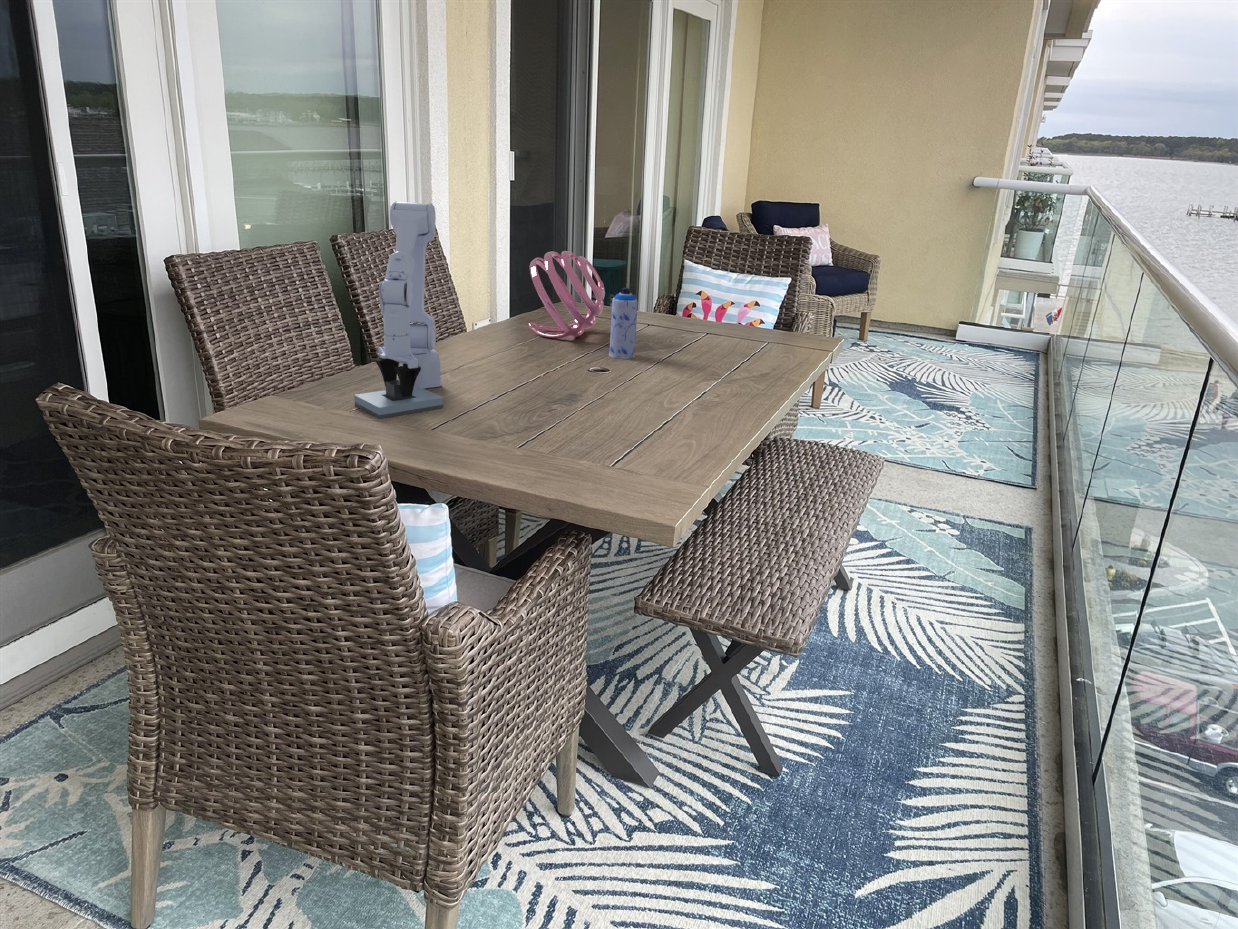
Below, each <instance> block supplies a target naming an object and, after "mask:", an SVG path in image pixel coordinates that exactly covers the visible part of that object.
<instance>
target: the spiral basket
mask: <svg viewBox="0 0 1238 929" xmlns="http://www.w3.org/2000/svg"><path fill="white" fill-rule="evenodd" d="M560 253H561V254H560ZM560 253H558V252H557V251H553V250H552V251H548V252H546V253H545V254H544V256H543V258H542V257H535V258H534V259H533V260H531V262H530V263H529V274H530V277H531V278H530V279H531V281H532V283H533V286H534V288H535V291H536V292H537V295H538V296H539V298H540V300H541V301H542V304H543V306H544V307H545V309H546V311H547V312H548V314H549V315H550V317H551V318H552V319H553V320H554V322H555V324H556V325H557V326H548V325H547V326H546V325H542V324H539V323H537V322H535V321H530V323H528V327H529V328H530V329H531V330H532V331H534V332H535V334H537V335H539V336H542V337H544V338H547V339H554V340H555V339H556V340H557V339H564V338H579V337H581V336H582V335H583V334H584V332H585V331H584V330H585V329H586V330H590V329H592V328H593V327H594V326H595V325H596V321H597V316H600V315H601V314H602V313H603V310H604V299H605V295H606V291H605V286H604V282H603V280H601V277H600V276H599V274H598V272H597V270H596V268H595V267H594V266H593V265H592V263H591V262H590V261H589V260H588V259H587V258H586V257H584V256H582V255H579V256H578V255H576V254H575V253H573V251H568V250H563V251H562V252H560ZM553 259H554V260H556V261H557V263H559V265H560V266H561V267H562V268H563V270H564V271H565V274H566V275H567V277H568V280H569V282H570V283H571V285H572V287H573V289H574V290H575V292H576V293H577V295H578V297H579V298H580V300H581V301H582V303H583V304H584V306H585V308H586V311H587V315H586V316H583V314H582V313H581V311H580V309H579V308H578V305H577V303H576V301H575V299H574V298H573V295H572V294H571V292H570V290H569V288H568V287H567V285H566V284H565V281H563V279H562V278H561V276H560V275H559V274H558V272H557V270H556V268H555V264H554V261H553ZM571 259H572V261H574V263H575V264H576V266H577V267H578V268H579V270H580V271H581V273H582V275H583V277H584V279H585V281H586V282H587V284H588V286H589V287H590V289H591V290H592V292H593V295H594V297H595V299H596V300H595V302H593V300H592V299H591V297H590V296H589V295H588V294H589V293H587V291H586V288H585V287H584V285H583V283H582V281H581V279H580V278H579V276H578V275H577V274H576V272H575V271H574V268H573V266H572V262H571ZM537 266H539V267H540V268H542V269H543V271H545V272H546V274H547V275H548V276H547V277H548V278H549V280H550V282H551V284H552V286H553V288H554V290H555V293H556V294H557V296H558V298H559V299H560V301H561V302H562V305H564V307H565V308H566V309H567V311H568V313H569V314H570V315H571V317H572V318H573V323H571V324H568V323H567V321H565V320H564V318H563V317H562V316H561V315H560V312H559V311H558V309H556V307H555V305H554V304H553V302H552V300H551V298H550V297H549V295H548V293H547V291H546V289H545V287H544V285H543V283H542V280H541V277H540V274H539V271H538V268H537ZM587 266H588V267H587ZM588 268H589V269H590V271H591V272H592V274H593V276H594V278H595V280H596V281H597V284H596V282H595V280H594V279H593V277H592V275H591V273H590V272H589V270H588ZM535 327H537V328H539V329H541V330H545V331H549V332H558V333H559V332H560V333H561V332H563V333H561V334H547V333H543V332H542V331H539V330H538V329H536V328H535Z"/></svg>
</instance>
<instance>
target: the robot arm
mask: <svg viewBox="0 0 1238 929" xmlns="http://www.w3.org/2000/svg"><path fill="white" fill-rule="evenodd" d="M436 219H437V218H436V208H435V206H434V204H433V202H429V203H426V202H425V203H424V202H406V201H405V202H404V201H403V202H402V201H396V200H394V201H393V202H392V203H391V204H390V207H389V221H390V222H389V223H390V225H391V226H392V231H394V234H395V235H396V240H395V251H394V252H393V253H391V254H390V255H389V257H388V260H387V261H388V262H387V267H386V271H385V275H384V276H385V277H384V280H383V281H381V282H380V283H379V286H378V287H379V288H378V297H379V303H380V311H381V314H382V315H383V316H382V317H383V320H382V322H383V341H384V343H383V346H378V347H377V348H378V356H379V358H378V357H377V358H375V359H374V360H375V361H374V362H375V363H376V365H377V366H378V369H379V370H380V372H381V375H382V378H383V383H384V386H385V388H386V381H392V380H399V381H400V388H401V394H402V397H409V396H412V392H413V388H414V386H419V387H421V388H423V389H425V390H426V389H430V388H437V387H442V386H443V384H442V383H441V358H440V354H439V352H438V351H437V350H436V349H435V347H436V340H437V335H436V334H437V331H436V321H435V319H434V318H433V317H432V316H431V315H430V314H428V312H426V311H425V287H426V284H425V283H426V280H425V279H426V258H427V257H426V253H427V246H428V243H430V242H432V241H433V240H434V239H435V235H436V222H437V220H436ZM416 323H417V324H416ZM397 377H398V378H397Z"/></svg>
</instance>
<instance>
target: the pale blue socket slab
mask: <svg viewBox="0 0 1238 929" xmlns="http://www.w3.org/2000/svg"><path fill="white" fill-rule="evenodd" d="M354 406H356V407H358V408H359V409H361V410H363V411H365V412H367V413H368V414H371V415H372V416H374V417H375V418H377V419H385V418H391V417H392V418H393V417H398V416H404V415H409V414H416V413H423V412H428V411H432V410H433V411H435V410H439V409H443V408H444V397H443V396H441V395H438V394H436V393H434V392H431V391H429V390H427V389H426V388H425V389H423V388H421V387H419V386H414V388H413V392H412V396H410V399H404V400H398V401H392V400H390V399H388V398H386V389H385V390H377V391H371V392H364V393H358V394H354ZM427 410H428V411H427Z"/></svg>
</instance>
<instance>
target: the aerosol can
mask: <svg viewBox="0 0 1238 929" xmlns="http://www.w3.org/2000/svg"><path fill="white" fill-rule="evenodd" d="M630 291H631V290H630V288H627V287H622V288H621V292H619V293H616V295H615V296H613V298H612V302H611V319H610V334H609V335H610V338H609V352H608V356H609V357H611V358H614V359H619V360H620V359H622V360H629V359H635V357H636V354H635V351H636V349H635V348H636V335H637V334H636V333H637V321H638V320H637V318H638V317H637V316H638V302H639V301H638V299H637V298H636V295H634V294H633V293H631V292H630Z"/></svg>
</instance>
